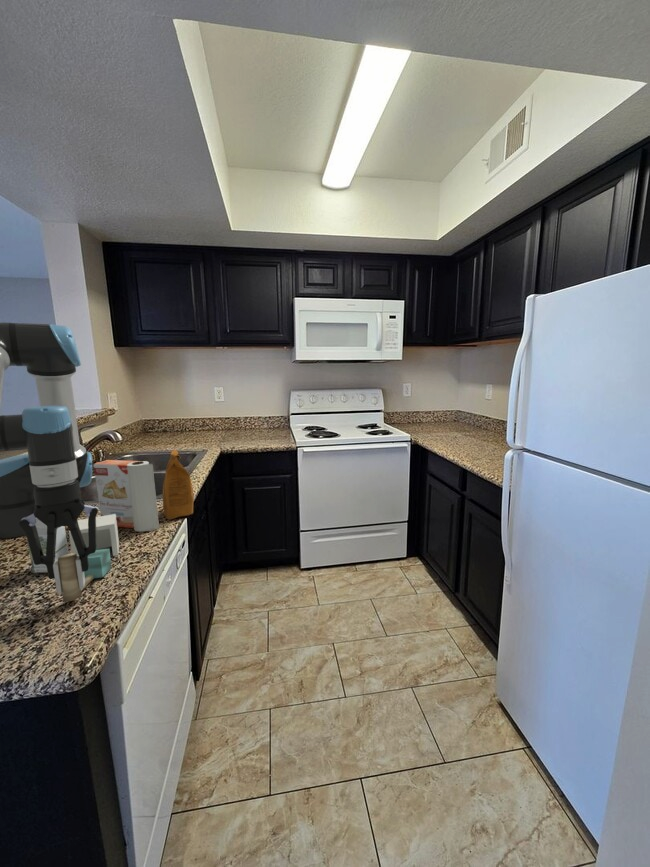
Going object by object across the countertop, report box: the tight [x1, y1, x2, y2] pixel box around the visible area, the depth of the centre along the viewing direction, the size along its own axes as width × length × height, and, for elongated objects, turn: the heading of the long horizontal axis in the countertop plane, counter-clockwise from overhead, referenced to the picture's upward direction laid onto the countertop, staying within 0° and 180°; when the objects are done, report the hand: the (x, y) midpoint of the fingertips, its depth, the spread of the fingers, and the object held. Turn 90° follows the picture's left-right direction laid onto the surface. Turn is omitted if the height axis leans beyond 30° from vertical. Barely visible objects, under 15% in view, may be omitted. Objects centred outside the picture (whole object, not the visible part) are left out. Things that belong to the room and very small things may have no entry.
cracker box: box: [93, 459, 139, 529], centre depth 115 cm, size 14×6×21 cm, turn 75°
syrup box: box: [26, 518, 70, 574], centre depth 90 cm, size 6×6×14 cm
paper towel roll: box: [127, 460, 160, 533], centre depth 112 cm, size 7×6×21 cm
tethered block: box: [58, 548, 113, 602], centre depth 82 cm, size 15×5×9 cm, turn 10°
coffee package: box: [162, 449, 195, 520], centre depth 124 cm, size 10×12×22 cm
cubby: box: [68, 514, 120, 557], centre depth 97 cm, size 8×10×9 cm
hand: (71, 587), depth 77 cm, fingers closed on tethered block, 3 cm apart
